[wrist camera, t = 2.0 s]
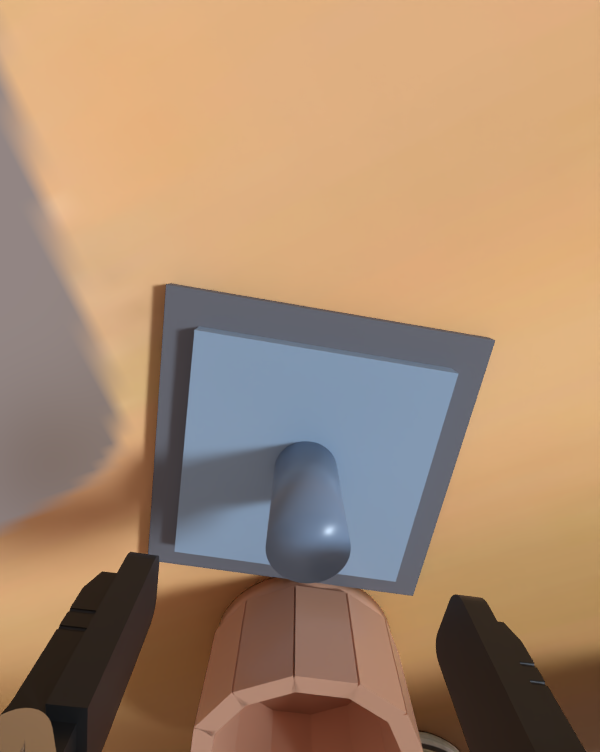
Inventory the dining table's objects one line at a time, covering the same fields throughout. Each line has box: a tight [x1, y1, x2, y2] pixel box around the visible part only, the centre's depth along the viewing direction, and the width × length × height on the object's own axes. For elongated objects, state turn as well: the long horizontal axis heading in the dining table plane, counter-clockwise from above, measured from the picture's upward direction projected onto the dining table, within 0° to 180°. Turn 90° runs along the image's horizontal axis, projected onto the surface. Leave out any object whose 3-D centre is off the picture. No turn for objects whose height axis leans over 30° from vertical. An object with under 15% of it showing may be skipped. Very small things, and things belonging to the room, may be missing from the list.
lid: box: [174, 326, 459, 583], centre depth 16 cm, size 11×11×6 cm
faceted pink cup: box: [191, 577, 423, 752], centre depth 20 cm, size 10×10×6 cm
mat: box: [148, 284, 495, 596], centre depth 19 cm, size 14×14×1 cm
